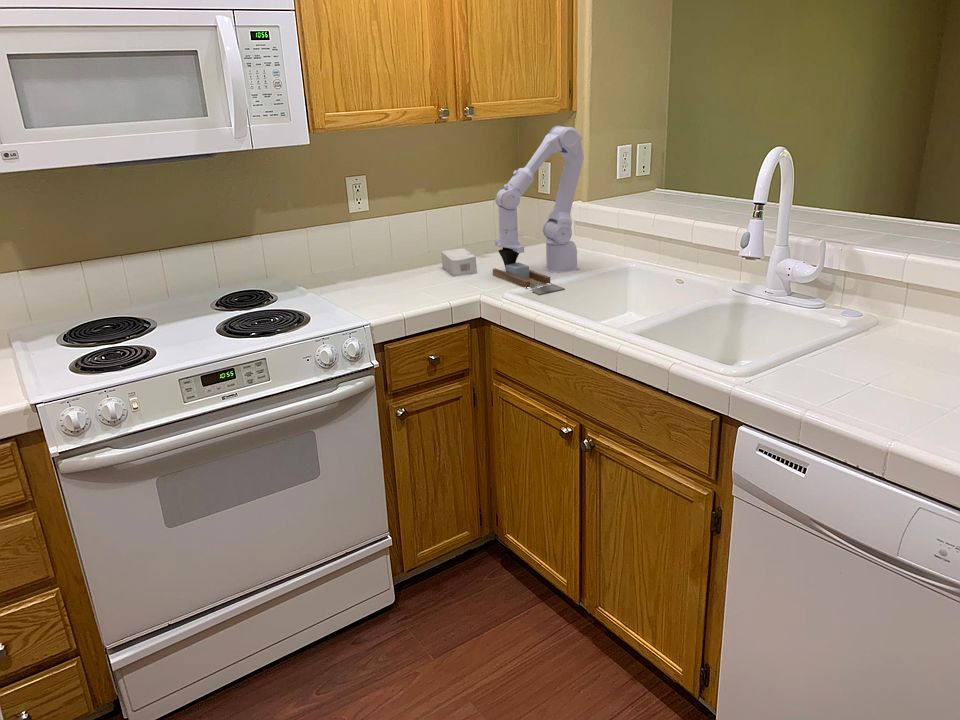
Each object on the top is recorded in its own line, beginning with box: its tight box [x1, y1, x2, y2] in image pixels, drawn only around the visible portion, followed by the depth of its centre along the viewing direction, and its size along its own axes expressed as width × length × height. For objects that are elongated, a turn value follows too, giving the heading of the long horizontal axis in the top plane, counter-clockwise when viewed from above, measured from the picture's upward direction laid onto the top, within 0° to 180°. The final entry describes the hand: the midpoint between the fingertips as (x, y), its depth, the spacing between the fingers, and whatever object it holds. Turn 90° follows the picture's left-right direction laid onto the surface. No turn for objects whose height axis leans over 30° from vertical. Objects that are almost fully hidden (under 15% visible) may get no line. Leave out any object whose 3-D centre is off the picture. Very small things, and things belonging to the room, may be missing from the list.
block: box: [505, 261, 530, 279], centre depth 225 cm, size 5×6×4 cm
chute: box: [492, 268, 566, 296], centre depth 221 cm, size 9×27×2 cm, turn 29°
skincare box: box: [440, 247, 478, 277], centre depth 239 cm, size 8×6×15 cm
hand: (510, 271), depth 229 cm, fingers closed
